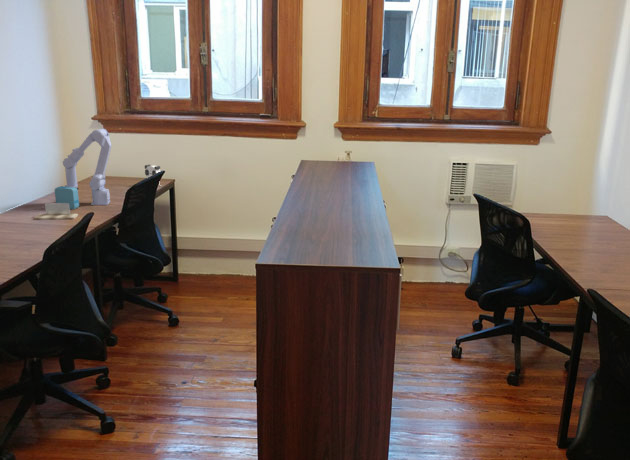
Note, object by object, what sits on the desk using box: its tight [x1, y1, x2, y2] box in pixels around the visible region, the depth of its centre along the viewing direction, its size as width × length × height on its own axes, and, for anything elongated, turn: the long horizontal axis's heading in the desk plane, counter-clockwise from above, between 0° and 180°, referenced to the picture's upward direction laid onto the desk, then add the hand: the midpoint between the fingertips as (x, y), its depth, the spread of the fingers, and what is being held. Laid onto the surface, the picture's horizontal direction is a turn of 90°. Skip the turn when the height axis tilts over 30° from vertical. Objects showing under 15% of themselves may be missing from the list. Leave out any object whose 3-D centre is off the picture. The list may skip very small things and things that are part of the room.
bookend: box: [33, 202, 79, 221], centre depth 298 cm, size 20×8×7 cm, turn 97°
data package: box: [54, 185, 80, 210], centre depth 318 cm, size 12×4×12 cm, turn 77°
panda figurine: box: [144, 164, 161, 186], centre depth 375 cm, size 12×11×15 cm
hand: (73, 200), depth 330 cm, fingers closed
